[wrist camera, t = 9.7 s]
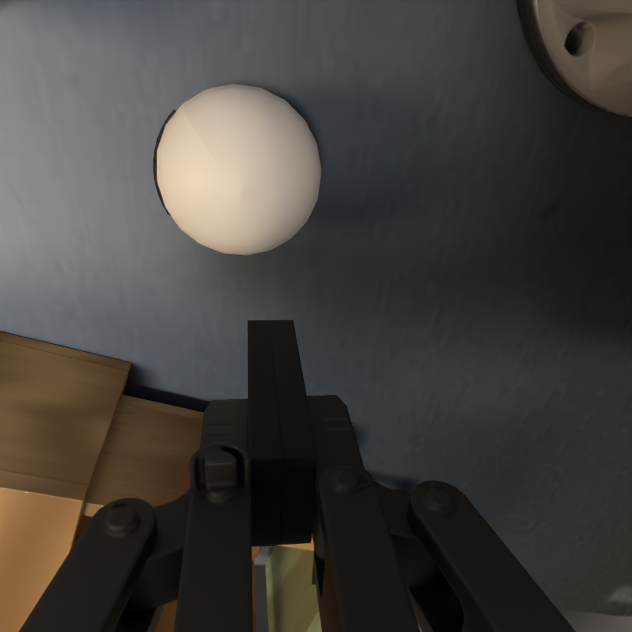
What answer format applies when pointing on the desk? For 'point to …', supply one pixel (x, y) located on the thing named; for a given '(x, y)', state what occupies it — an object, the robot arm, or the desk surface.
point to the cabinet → (47, 459)
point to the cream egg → (237, 169)
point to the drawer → (173, 482)
